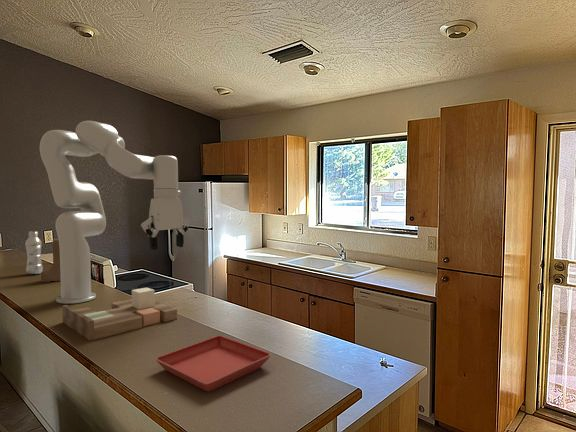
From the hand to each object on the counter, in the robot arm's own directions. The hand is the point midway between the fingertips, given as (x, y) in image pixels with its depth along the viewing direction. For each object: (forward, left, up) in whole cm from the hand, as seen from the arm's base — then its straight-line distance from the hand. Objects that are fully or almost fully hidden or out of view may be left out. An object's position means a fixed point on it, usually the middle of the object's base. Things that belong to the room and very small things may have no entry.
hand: (167, 247), depth 129 cm
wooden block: (-75, -12, -21) cm, 79 cm away
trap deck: (0, -15, -20) cm, 25 cm away
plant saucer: (+47, -15, -21) cm, 54 cm away
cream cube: (0, -8, -17) cm, 19 cm away
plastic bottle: (-97, -14, -21) cm, 100 cm away
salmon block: (+7, -10, -21) cm, 24 cm away
